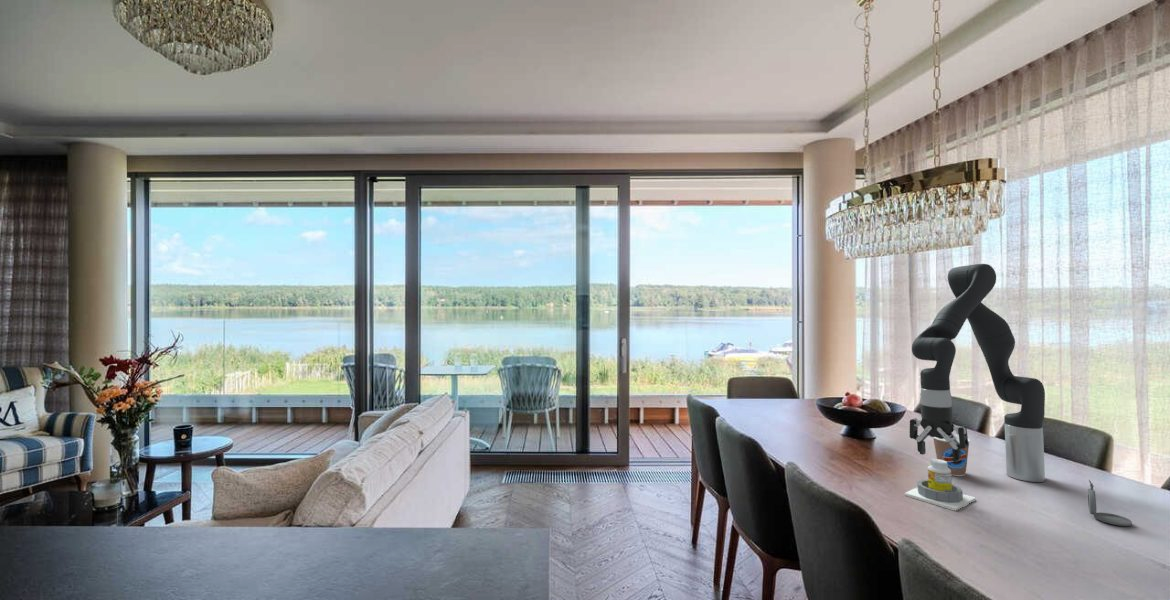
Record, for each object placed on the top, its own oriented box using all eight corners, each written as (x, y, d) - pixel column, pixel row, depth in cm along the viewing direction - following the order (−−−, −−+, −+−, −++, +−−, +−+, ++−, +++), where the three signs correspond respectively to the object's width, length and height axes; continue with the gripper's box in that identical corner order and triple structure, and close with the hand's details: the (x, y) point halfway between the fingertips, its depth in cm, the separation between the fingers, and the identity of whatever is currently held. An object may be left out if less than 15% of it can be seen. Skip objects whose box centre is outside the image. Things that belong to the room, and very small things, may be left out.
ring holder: (925, 486, 147) (924, 475, 147) (975, 500, 135) (975, 488, 135) (904, 495, 140) (904, 483, 140) (956, 511, 129) (955, 498, 129)
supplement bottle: (929, 490, 142) (928, 456, 142) (952, 494, 138) (951, 460, 138) (927, 495, 137) (926, 461, 138) (951, 500, 134) (950, 465, 134)
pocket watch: (1140, 528, 117) (1138, 489, 117) (1100, 526, 118) (1098, 487, 119) (1110, 514, 125) (1108, 477, 125) (1073, 512, 126) (1072, 475, 127)
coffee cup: (939, 476, 155) (937, 440, 155) (929, 466, 164) (927, 432, 164) (977, 479, 151) (975, 443, 151) (964, 469, 160) (963, 434, 161)
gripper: (970, 405, 134) (973, 461, 134) (915, 398, 146) (918, 449, 146) (959, 409, 130) (962, 466, 130) (903, 401, 142) (906, 453, 142)
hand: (938, 457), depth 138 cm, fingers open, 8 cm apart
